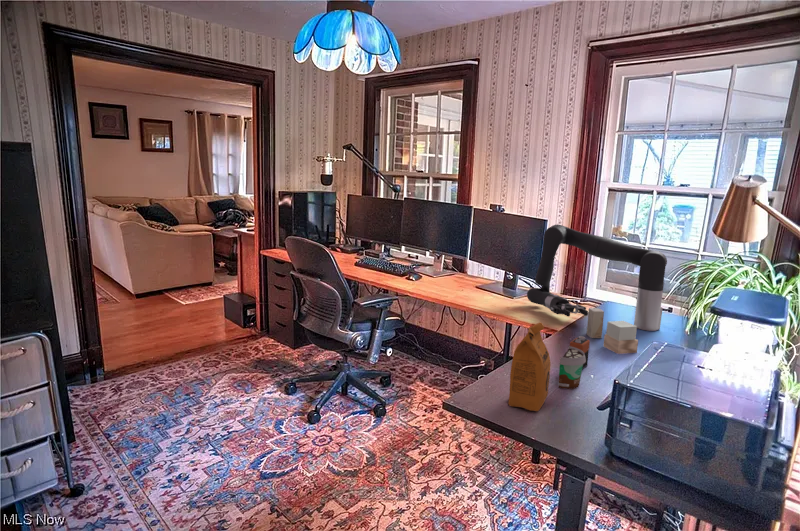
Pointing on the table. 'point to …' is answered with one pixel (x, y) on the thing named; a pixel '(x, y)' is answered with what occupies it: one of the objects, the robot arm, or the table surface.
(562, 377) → the food container
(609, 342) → the block
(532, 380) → the coffee package
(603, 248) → the robot arm
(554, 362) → the table surface
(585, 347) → the battery
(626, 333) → the tower top
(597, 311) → the box
